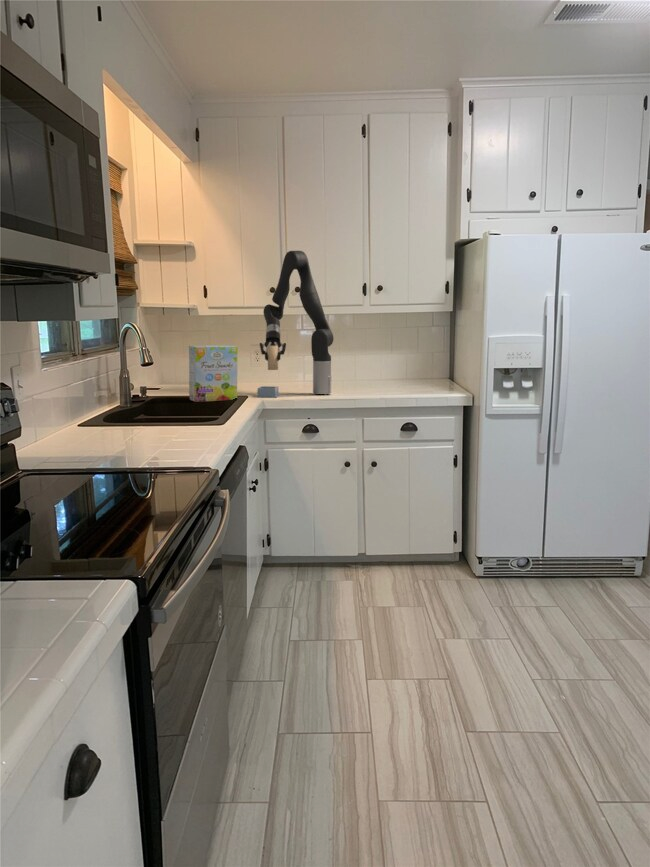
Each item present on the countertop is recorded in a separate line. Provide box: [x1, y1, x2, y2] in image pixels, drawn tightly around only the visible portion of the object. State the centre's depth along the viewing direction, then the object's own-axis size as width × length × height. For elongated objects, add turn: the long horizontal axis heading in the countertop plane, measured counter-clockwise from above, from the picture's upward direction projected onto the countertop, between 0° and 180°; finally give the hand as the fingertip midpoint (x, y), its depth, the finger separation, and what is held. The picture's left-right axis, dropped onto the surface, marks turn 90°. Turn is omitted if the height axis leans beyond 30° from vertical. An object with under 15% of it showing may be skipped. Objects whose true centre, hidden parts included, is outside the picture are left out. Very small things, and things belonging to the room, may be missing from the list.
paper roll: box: [267, 346, 279, 371], centre depth 314 cm, size 5×5×12 cm
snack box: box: [188, 344, 238, 403], centre depth 292 cm, size 22×9×26 cm, turn 123°
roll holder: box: [256, 385, 281, 399], centre depth 310 cm, size 10×9×4 cm
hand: (272, 359), depth 313 cm, fingers closed on paper roll, 5 cm apart
